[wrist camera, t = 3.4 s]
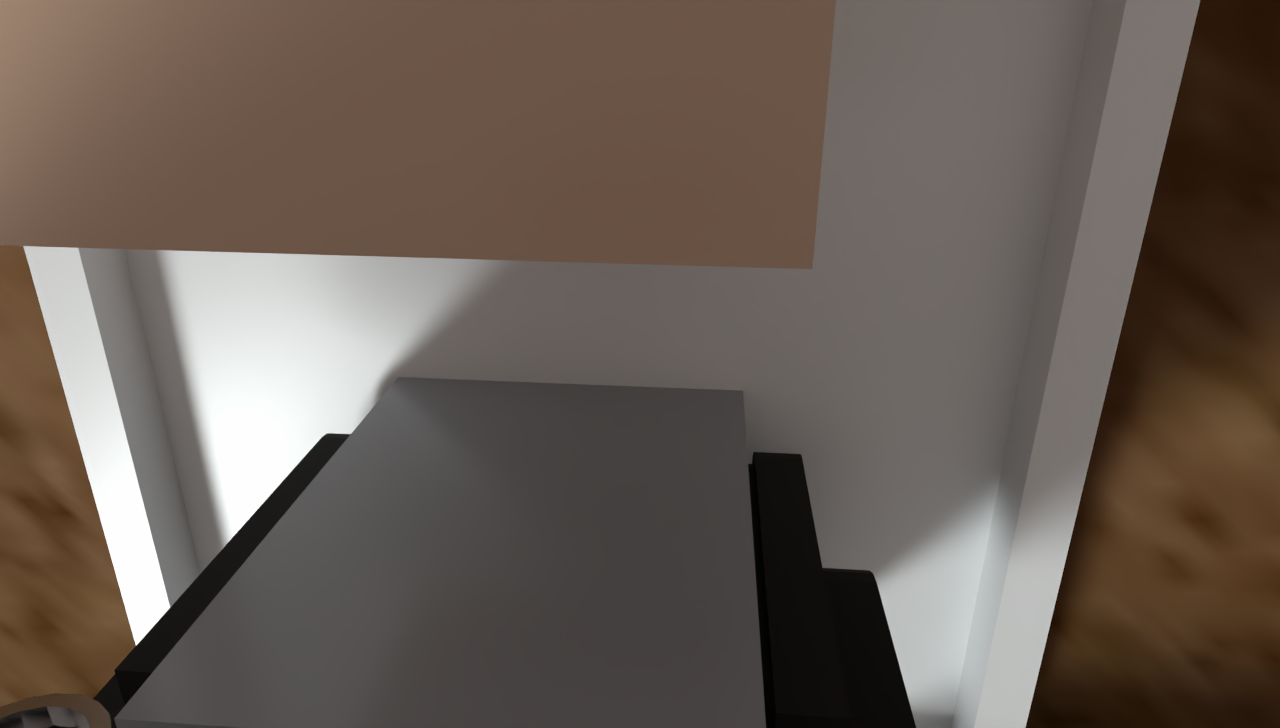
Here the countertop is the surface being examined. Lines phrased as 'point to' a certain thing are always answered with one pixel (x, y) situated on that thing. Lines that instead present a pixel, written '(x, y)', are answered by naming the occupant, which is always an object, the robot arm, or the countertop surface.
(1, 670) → the countertop surface
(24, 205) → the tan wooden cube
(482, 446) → the matte grey cube
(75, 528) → the countertop surface
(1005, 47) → the tray
